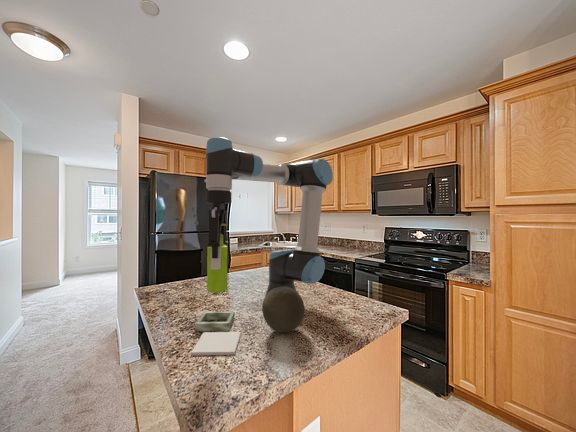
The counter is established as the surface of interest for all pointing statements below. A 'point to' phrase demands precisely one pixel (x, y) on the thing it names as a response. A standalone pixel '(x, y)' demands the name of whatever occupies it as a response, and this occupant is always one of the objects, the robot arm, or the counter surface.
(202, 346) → the mat
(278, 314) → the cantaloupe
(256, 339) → the counter surface
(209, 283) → the soap dispenser
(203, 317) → the frame
